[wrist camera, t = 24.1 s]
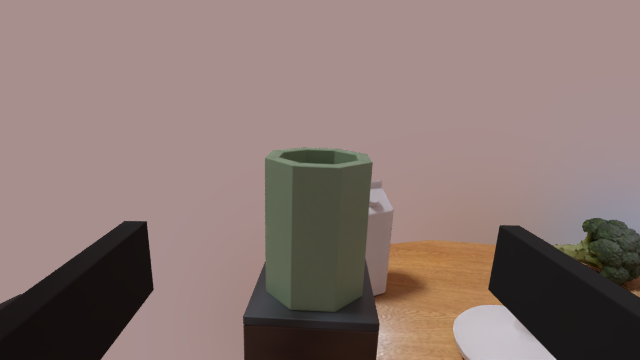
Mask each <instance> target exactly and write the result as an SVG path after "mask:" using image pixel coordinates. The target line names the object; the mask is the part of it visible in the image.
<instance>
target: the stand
mask: <svg viewBox="0 0 640 360" xmlns="http://www.w3.org/2000/svg"><path fill="white" fill-rule="evenodd" d="M243 324H244V360H376V356H377V345H378V334H379V332H378V331H379V319H378V314H377V310H376V305H375V300H374V295H373V291H372V286H371V281H370V276H369V272H368V267H367V262H366V259H365V267H364V281H363V294H362V296H361V297H360V298H358V299H356V300H354V301H353V302H351V303H349V304H348V305H346V306H344V307H343V308H341V309H339V310H337V311H336V312H320V311H301V310H290V309H288V308H287V307H286V306H285V305H283V304H282V303H281V302H279V301H278V300H277V299H276V298H274V297H273V296H272V295H270V294H269V293H268V292H266V261H265V264H264V266H263V269H262V271H261V274H260V276H259V279H258V281H257V284H256V286H255V289H254V291H253V293H252V296H251V298H250V301H249V304H248V306H247V308H246V311H245V314H244V316H243Z"/></svg>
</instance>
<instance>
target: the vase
mask: <svg viewBox="0 0 640 360" xmlns="http://www.w3.org/2000/svg"><path fill="white" fill-rule="evenodd" d="M453 332H454V336H455V340H456V344H457V348H458V350H459V351H460V353H461V355H462V356H463V358H464V360H556V359H555V358H554V357H553V356H552V355H551V354H550V353H549V352H548V350H547V349H546V348H545V347H544V346H543V345H542V344H541V343H540V342H539V341H538V340H537V339H536V338H535V337H534V336H533V335H532V334H531V333H530V332H529V331H528V330H527V329H526V328H525V327H524V326H523V325H522V324H521V323H520V322H519V320H518V319H517V318H516V317H515V316H514V315H513V314H512V313H511V312H510V311H509V310H508V309H507V308H506V307H505V306H500V305H481V306H476V307H472V308H470V309H468V310H467V311H465V312H463V313H461V314H460V315H459V316H458V317H457V318H456V320H455V321H454V327H453Z"/></svg>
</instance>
